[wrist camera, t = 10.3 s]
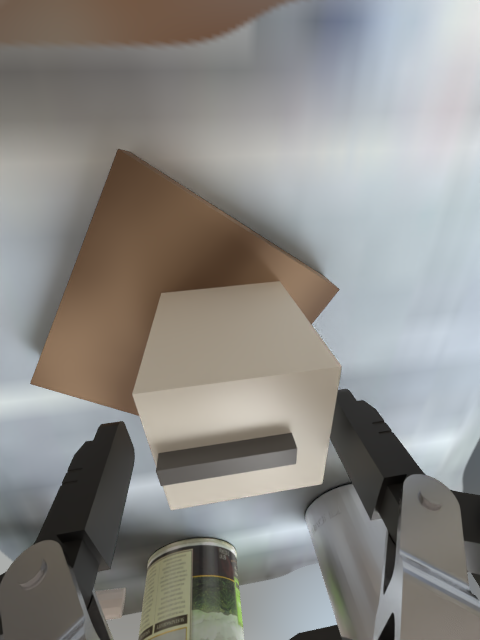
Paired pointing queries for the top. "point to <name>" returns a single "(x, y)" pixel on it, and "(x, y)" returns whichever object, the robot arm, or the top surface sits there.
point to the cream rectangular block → (235, 394)
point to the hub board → (152, 279)
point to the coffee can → (192, 592)
